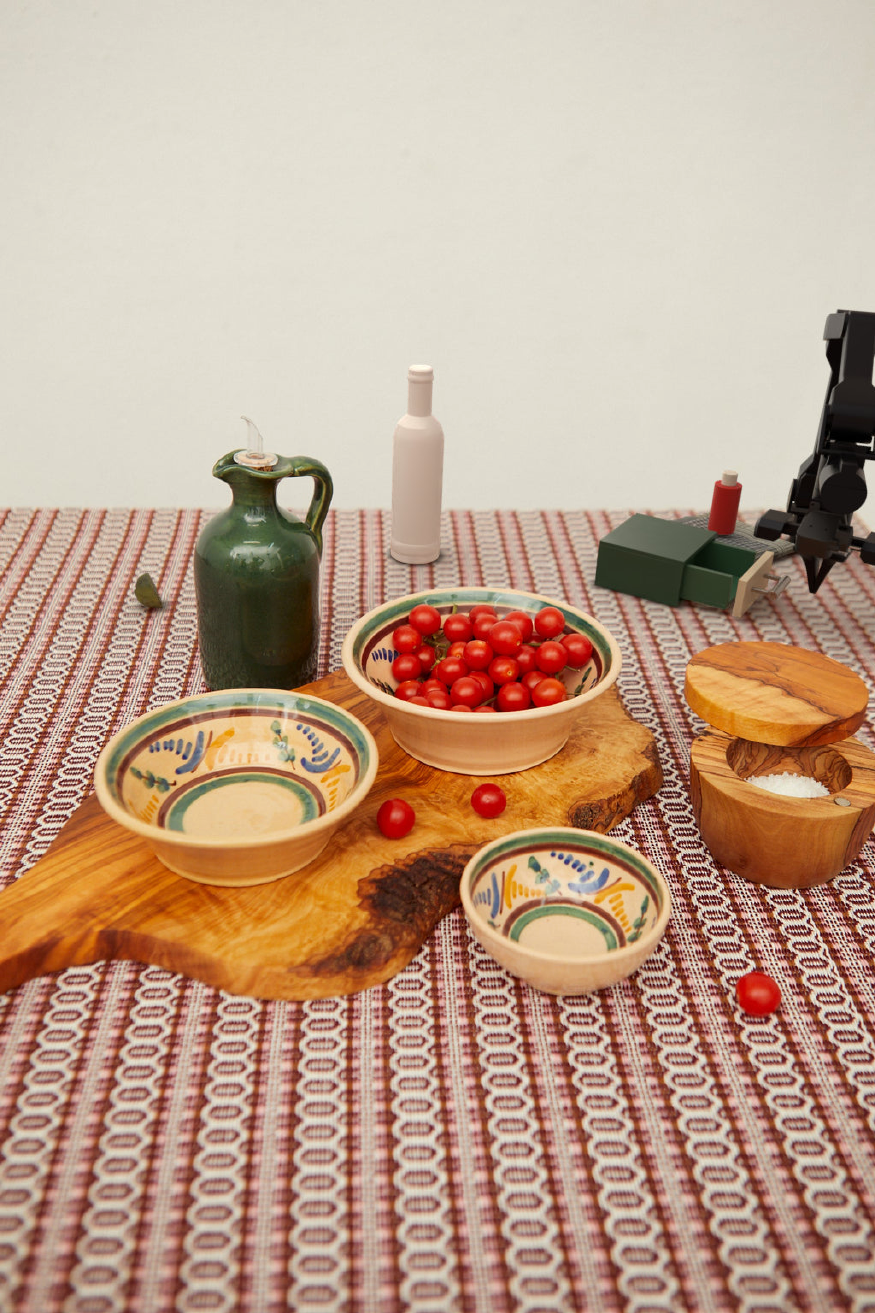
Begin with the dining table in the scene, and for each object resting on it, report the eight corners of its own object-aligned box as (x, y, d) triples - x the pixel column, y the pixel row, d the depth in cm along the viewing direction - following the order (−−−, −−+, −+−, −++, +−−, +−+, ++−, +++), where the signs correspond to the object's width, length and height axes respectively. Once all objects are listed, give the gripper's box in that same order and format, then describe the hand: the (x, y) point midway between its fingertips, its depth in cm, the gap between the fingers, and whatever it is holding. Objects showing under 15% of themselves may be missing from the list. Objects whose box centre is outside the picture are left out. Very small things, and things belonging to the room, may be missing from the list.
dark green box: (709, 575, 173) (717, 531, 169) (676, 607, 162) (684, 561, 158) (630, 555, 179) (636, 512, 175) (594, 585, 168) (599, 540, 164)
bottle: (379, 554, 175) (382, 366, 161) (412, 541, 180) (418, 357, 166) (417, 569, 170) (423, 376, 156) (449, 555, 176) (458, 367, 161)
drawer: (792, 593, 166) (800, 558, 163) (766, 625, 156) (774, 588, 153) (690, 567, 173) (695, 533, 170) (659, 595, 163) (664, 560, 160)
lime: (152, 596, 158) (149, 564, 156) (175, 606, 156) (172, 573, 154) (128, 607, 155) (124, 574, 153) (151, 616, 153) (148, 584, 150)
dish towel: (798, 554, 181) (802, 536, 180) (722, 576, 172) (726, 558, 171) (716, 518, 195) (718, 501, 193) (641, 537, 186) (644, 519, 184)
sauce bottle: (712, 522, 185) (722, 466, 180) (738, 528, 183) (748, 471, 178) (703, 530, 182) (713, 473, 177) (729, 536, 180) (739, 478, 175)
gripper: (751, 491, 148) (732, 595, 155) (894, 522, 140) (866, 631, 147) (775, 469, 156) (756, 569, 164) (911, 497, 148) (884, 601, 155)
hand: (813, 592), depth 157 cm, fingers closed
